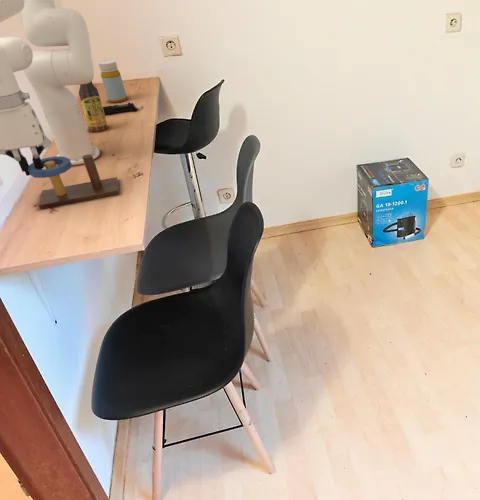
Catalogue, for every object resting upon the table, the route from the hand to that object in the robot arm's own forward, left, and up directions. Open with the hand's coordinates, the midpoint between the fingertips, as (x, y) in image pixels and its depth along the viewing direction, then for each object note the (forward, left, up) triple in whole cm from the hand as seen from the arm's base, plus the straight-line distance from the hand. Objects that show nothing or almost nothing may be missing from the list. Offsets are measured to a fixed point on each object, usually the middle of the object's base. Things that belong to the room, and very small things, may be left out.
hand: (34, 171), depth 130 cm
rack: (0, +9, -8) cm, 12 cm away
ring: (0, +4, 0) cm, 4 cm away
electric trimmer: (-68, +19, -9) cm, 71 cm away
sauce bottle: (-52, +13, -9) cm, 54 cm away
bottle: (-84, +20, -9) cm, 86 cm away
